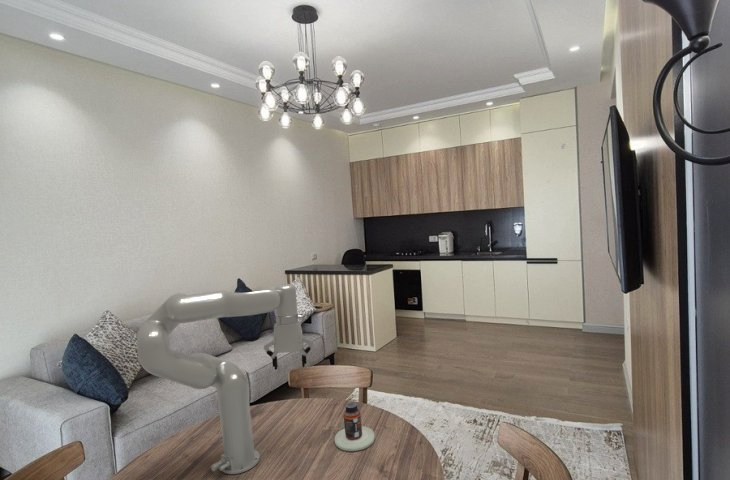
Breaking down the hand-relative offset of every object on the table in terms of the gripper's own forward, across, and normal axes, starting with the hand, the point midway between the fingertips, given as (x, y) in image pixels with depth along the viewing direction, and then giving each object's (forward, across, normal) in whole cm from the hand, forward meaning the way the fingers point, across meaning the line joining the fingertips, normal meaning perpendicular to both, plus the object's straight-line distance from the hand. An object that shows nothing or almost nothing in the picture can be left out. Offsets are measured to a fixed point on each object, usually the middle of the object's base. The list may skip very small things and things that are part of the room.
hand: (289, 367), depth 142 cm
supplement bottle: (+25, -21, +4) cm, 33 cm away
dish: (+27, -21, +4) cm, 34 cm away
